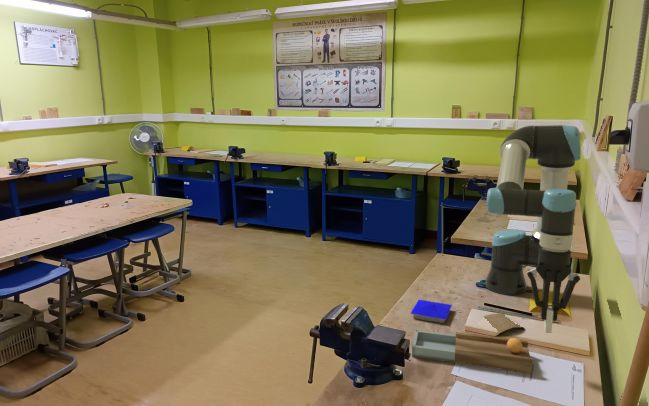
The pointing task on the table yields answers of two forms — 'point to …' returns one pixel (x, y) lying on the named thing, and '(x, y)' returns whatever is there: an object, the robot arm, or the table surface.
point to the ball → (514, 345)
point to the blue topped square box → (431, 311)
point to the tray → (434, 346)
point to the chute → (491, 353)
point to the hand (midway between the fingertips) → (547, 330)
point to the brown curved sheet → (500, 322)
